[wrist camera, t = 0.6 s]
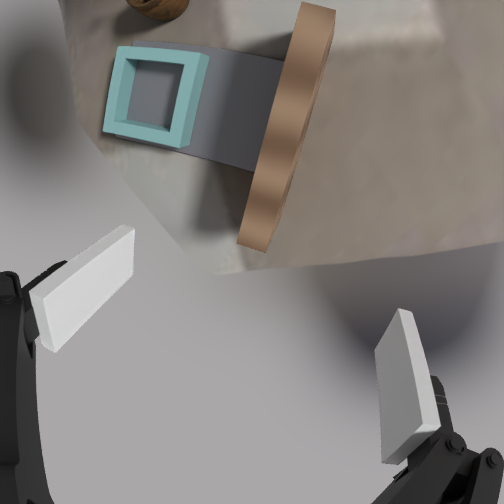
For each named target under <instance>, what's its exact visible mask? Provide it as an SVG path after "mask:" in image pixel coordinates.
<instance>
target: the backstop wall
mask: <svg viewBox="0 0 504 504" xmlns="http://www.w3.org/2000/svg"><path fill="white" fill-rule="evenodd" d="M335 14H336V10H333V9H329V8H326V7H322V6H318V5H314V4H309V3H305V2H302V3H301V6H300V10H299V13H298V16H297V20H296V23H295V27H294V30H293V34H292V37H291V41H290V45H289V48H288V52H287V55H286V59H285V62H284V66H283V70H282V73H281V77H280V80H279V84H278V88H277V91H276V95H275V99H274V102H273V106H272V110H271V113H270V117H269V121H268V124H267V128H266V132H265V136H264V139H263V143H262V147H261V151H260V154H259V158H258V162H257V166H256V169H255V173H254V177H253V181H252V185H251V189H250V192H249V196H248V200H247V204H246V208H245V212H244V216H243V220H242V223H241V227H240V231H239V235H238V239H237V244H240V245H243V246H246V247H249V248H252V249H255V250H258V251H261V252H264V253H266V250H267V248H268V246H269V243H270V241H271V239H272V236H273V234H274V232H275V229H276V227H277V225H278V223H279V220H280V217H281V214H282V211H283V207H284V204H285V201H286V197H287V194H288V191H289V187H290V184H291V181H292V177H293V174H294V171H295V167H296V164H297V161H298V157H299V154H300V151H301V147H302V144H303V140H304V137H305V134H306V130H307V127H308V123H309V120H310V117H311V113H312V110H313V106H314V103H315V99H316V96H317V92H318V89H319V85H320V82H321V78H322V75H323V71H324V68H325V64H326V61H327V57H328V54H329V50H330V47H331V43H332V39H333V36H334V26H335Z"/></svg>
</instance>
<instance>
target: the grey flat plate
mask: <svg viewBox="0 0 504 504" xmlns="http://www.w3.org/2000/svg"><path fill="white" fill-rule="evenodd" d="M132 47H148V48H161V49H171V50H181V51H189V52H197V53H202V54H205V55H207V56H210V57H209V61H208V65H207V69H206V73H205V77H204V81H203V85H202V90H201V94H200V98H199V102H198V107H197V111H196V116H195V120H194V125H193V130H192V134H191V139H190V144H189V145H188V146H185V147H181V148H177V147H172V146H168V145H164V144H160V143H155V142H151V141H147V140H142V139H137V138H133V137H128V136H123V135H119V134H115V137H117V138H122V139H126V140H131V141H136V142H140V143H144V144H149V145H153V146H157V147H162V148H166V149H170V150H174V151H178V152H182V153H186V154H190V155H194V156H198V157H201V158H205V159H209V160H213V161H216V162H220V163H224V164H227V165H231V166H234V167H238V168H241V169H245V170H248V171H252V172H255V169H256V166H257V162H258V158H259V154H260V151H261V147H262V143H263V139H264V136H265V132H266V128H267V124H268V121H269V117H270V113H271V110H272V106H273V102H274V99H275V95H276V91H277V88H278V84H279V80H280V77H281V73H282V70H283V66H284V61H280V60H275V59H271V58H266V57H262V56H257V55H252V54H247V53H241V52H236V51H230V50H224V49H218V48H211V47H204V46H196V45H187V44H178V43H167V42H153V41H133V43H132ZM183 69H184V65H179V64H171V63H162V62H153V61H142V60H138V62H137V66H136V71H135V76H134V81H133V86H132V91H131V96H130V101H129V107H128V113H127V120H132V121H138V122H143V123H148V124H153V125H158V126H163V127H167V128H171V124H172V119H173V114H174V109H175V104H176V99H177V95H178V90H179V86H180V82H181V77H182V73H183Z"/></svg>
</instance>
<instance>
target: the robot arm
mask: <svg viewBox="0 0 504 504" xmlns="http://www.w3.org/2000/svg"><path fill="white" fill-rule="evenodd" d="M134 237H135V228H132V227H129V226H126V225H123V224H122V225H120V226H119V227H117V228H116V229H114V230H113V231H112V232H110V233H108V234H107V235H106V236H104V237H103V238H101V239H100V240H98V241H97V242H96V243H94V244H92V245H91V246H89V247H88V248H87V249H85V250H84V251H82V252H81V253H80V254H78V255H77V256H75V257H74V258H73V259H71V260H70V261H68V262H67V261H65V260H64V261H61V262H59V263H56V264H54V265H53V266H51V267H50V268H48V269H47V271H44V272H43V273H41V275H40V276H37V277H36V278H35V279H33V280H32V281H31V282H29V283H28V284H27V285H25V286H24V287H23V288H21V285H20V280H19V276H18V275H17V274H16V273H14V272H12V271H11V272H10V271H4V272H0V504H54V502H53V500H52V498H51V496H50V493H49V489H48V485H47V480H46V474H45V469H44V463H43V456H42V449H41V441H40V433H39V424H38V411H37V395H36V345H35V341H34V340H35V339H36V338H37V337H38V336H39V335H40V339H41V342H42V345H43V346H44V347H46V348H48V349H49V350H51V351H53V352H54V353H56V352H57V351H58V350H59V349H60V348H61V347H62V346H63V345H64V344H65V343H66V342H67V340H68V339H69V338H70V337H71V336H72V335H73V334H74V333H75V332H76V331H77V330H78V329H79V328H80V327H81V326H82V325H83V324H84V323H85V322H86V321H87V320H88V319H89V318H90V317H91V316H92V315H93V314H94V313H95V312H96V311H97V310H98V308H100V307H101V306H102V305H103V304H104V303H105V302H106V300H108V299H109V298H110V297H111V296H112V295H113V294H114V293H115V292H116V291H117V290H118V289H119V288H120V287H121V286H122V285H123V284H124V283H125V282H126V281H127V280H128V279H129V278H131V277H132V275H133V261H134V259H133V258H134ZM375 360H376V370H377V381H378V393H379V408H380V425H381V454H382V463H385V464H396V465H399V464H400V463H401V462H402V461H404V460H405V459H406V458H407V460H408V466H407V467H405V469H403V470H402V471H401V472H399V473H398V474H397V475H396V476H394V477H393V478H394V480H393V481H392V483H391V484H390V485H389V486H388V487H387V488H386V489H385V490H384V491H383V492H382V493H381V494H380V495H379V496H378V497H377V499H376V500H375V501H374V502H373V503H372V504H497V502H498V498H499V493H500V488H501V482H502V476H503V470H504V460H503V458H502V455H501V454H500V453H499V451H497V450H496V449H494V448H487V449H485V450H484V451H483V452H482V453H480V454H479V453H476V452H474V451H471V450H469V449H467V446H466V443H465V441H464V439H463V438H462V437H461V436H460V435H459V434H457V433H455V432H454V431H453V426H452V422H451V417H450V413H449V408H448V406H447V400H446V398H445V392H444V388H443V385H442V384H441V382H440V381H439V379H438V378H437V377H436V376H431V375H430V374H429V370H428V366H427V363H426V359H425V355H424V352H423V348H422V344H421V341H420V337H419V334H418V330H417V327H416V324H415V321H414V318H413V314H412V312H410V311H406V310H403V309H399V308H398V310H397V312H396V314H395V315H394V317H393V319H392V321H391V323H390V324H389V326H388V328H387V330H386V332H385V333H384V335H383V337H382V338H381V340H380V342H379V344H378V346H377V347H376V349H375Z"/></svg>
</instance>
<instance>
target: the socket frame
mask: <svg viewBox="0 0 504 504" xmlns="http://www.w3.org/2000/svg"><path fill="white" fill-rule="evenodd" d="M209 57H210V56H207V55H205V54H202V53H197V52H189V51H181V50H171V49H161V48H148V47H130V46H118V49H117V54H116V58H115V63H114V67H113V72H112V77H111V82H110V88H109V93H108V99H107V105H106V112H105V118H104V125H103V131H104V132H109V133H114V134H119V135H123V136H128V137H133V138H137V139H142V140H147V141H151V142H155V143H160V144H164V145H168V146H172V147H177V148H181V147H185V146H188V145H189V144H190V139H191V134H192V130H193V125H194V120H195V116H196V111H197V107H198V102H199V98H200V94H201V90H202V85H203V81H204V77H205V73H206V69H207V65H208V61H209ZM138 60H142V61H153V62H162V63H171V64H179V65H184V69H183V73H182V77H181V82H180V86H179V90H178V95H177V99H176V104H175V109H174V114H173V119H172V124H171V128H167V127H163V126H158V125H153V124H148V123H143V122H138V121H132V120H127V113H128V107H129V101H130V96H131V91H132V86H133V81H134V76H135V71H136V66H137V62H138Z"/></svg>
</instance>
